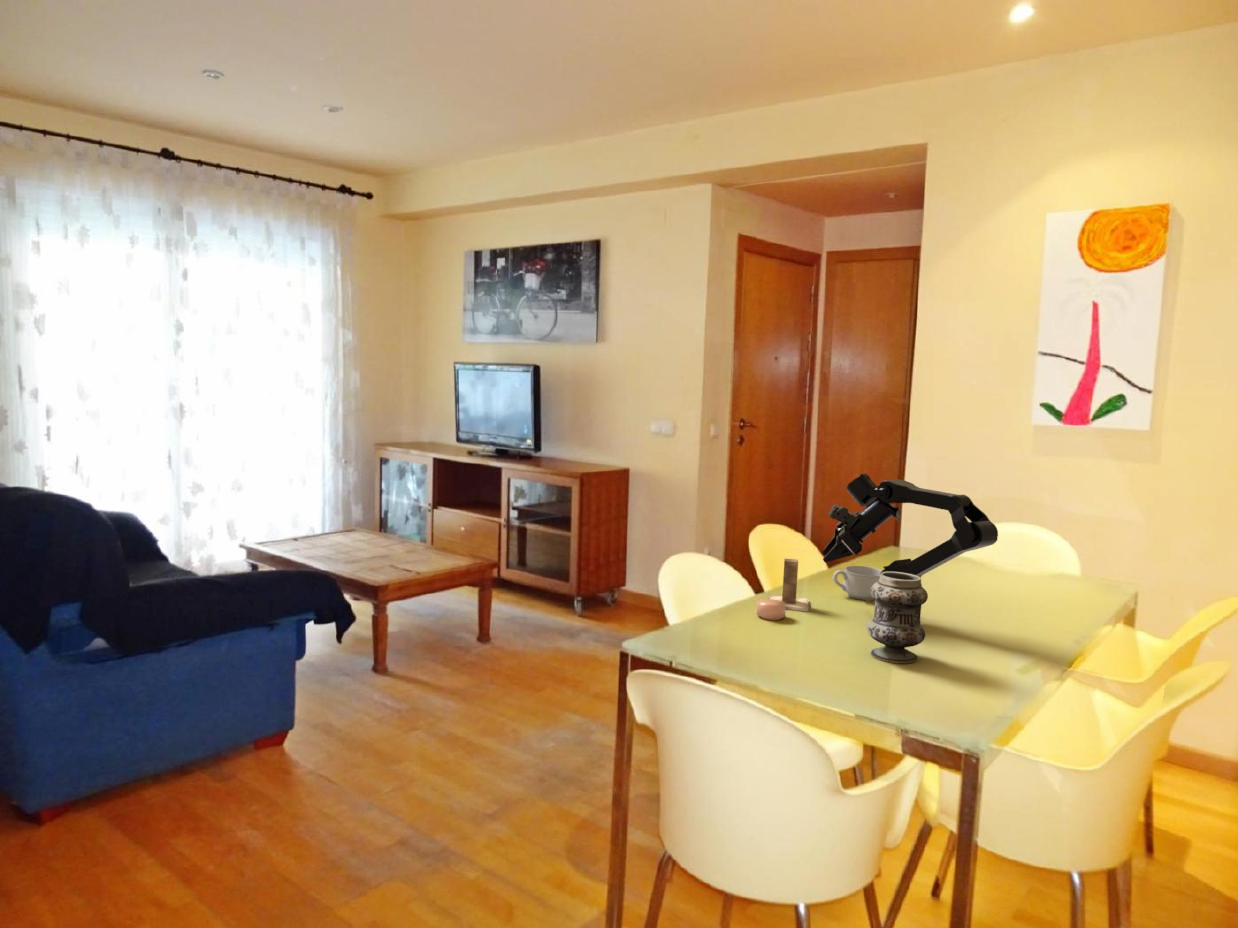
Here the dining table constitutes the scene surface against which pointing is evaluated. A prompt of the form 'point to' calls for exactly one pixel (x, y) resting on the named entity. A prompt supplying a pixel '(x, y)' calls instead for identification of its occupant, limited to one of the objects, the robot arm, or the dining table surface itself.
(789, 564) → the brown wooden post
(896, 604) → the apothecary jar
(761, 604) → the pink rounded disc
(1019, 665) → the dining table surface
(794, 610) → the rubber mat
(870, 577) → the teacup
